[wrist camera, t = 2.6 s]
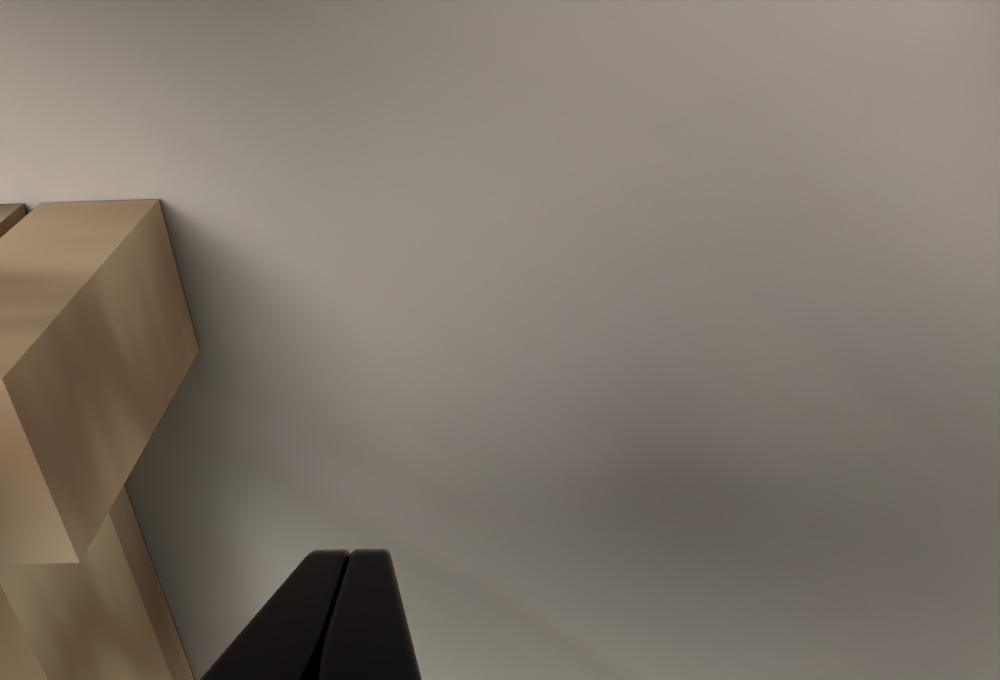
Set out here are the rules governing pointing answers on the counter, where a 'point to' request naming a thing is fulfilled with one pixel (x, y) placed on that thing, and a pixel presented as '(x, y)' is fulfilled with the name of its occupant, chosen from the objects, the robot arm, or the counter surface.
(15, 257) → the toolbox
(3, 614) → the lid
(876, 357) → the counter surface
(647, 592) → the counter surface
